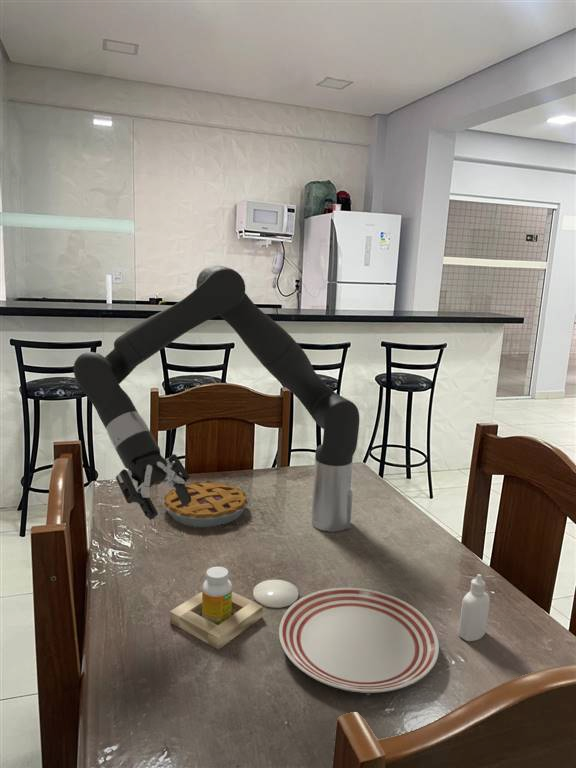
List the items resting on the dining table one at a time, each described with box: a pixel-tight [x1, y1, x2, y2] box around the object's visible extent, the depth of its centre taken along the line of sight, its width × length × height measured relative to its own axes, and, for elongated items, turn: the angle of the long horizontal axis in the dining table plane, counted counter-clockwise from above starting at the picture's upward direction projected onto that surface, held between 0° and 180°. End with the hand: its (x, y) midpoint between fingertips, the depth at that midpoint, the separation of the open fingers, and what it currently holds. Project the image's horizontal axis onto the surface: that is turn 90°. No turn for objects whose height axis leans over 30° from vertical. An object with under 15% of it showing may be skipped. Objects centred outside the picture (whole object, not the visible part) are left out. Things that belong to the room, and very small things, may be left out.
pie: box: [162, 480, 249, 528], centre depth 153 cm, size 22×22×5 cm
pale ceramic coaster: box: [252, 579, 299, 609], centre depth 117 cm, size 9×9×1 cm
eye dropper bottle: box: [458, 573, 491, 642], centre depth 106 cm, size 4×6×12 cm
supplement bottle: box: [201, 566, 233, 625], centre depth 107 cm, size 5×5×10 cm
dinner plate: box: [278, 587, 440, 694], centre depth 102 cm, size 28×27×3 cm
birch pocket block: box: [169, 591, 264, 650], centre depth 108 cm, size 12×12×2 cm
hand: (171, 510), depth 112 cm, fingers open, 8 cm apart
